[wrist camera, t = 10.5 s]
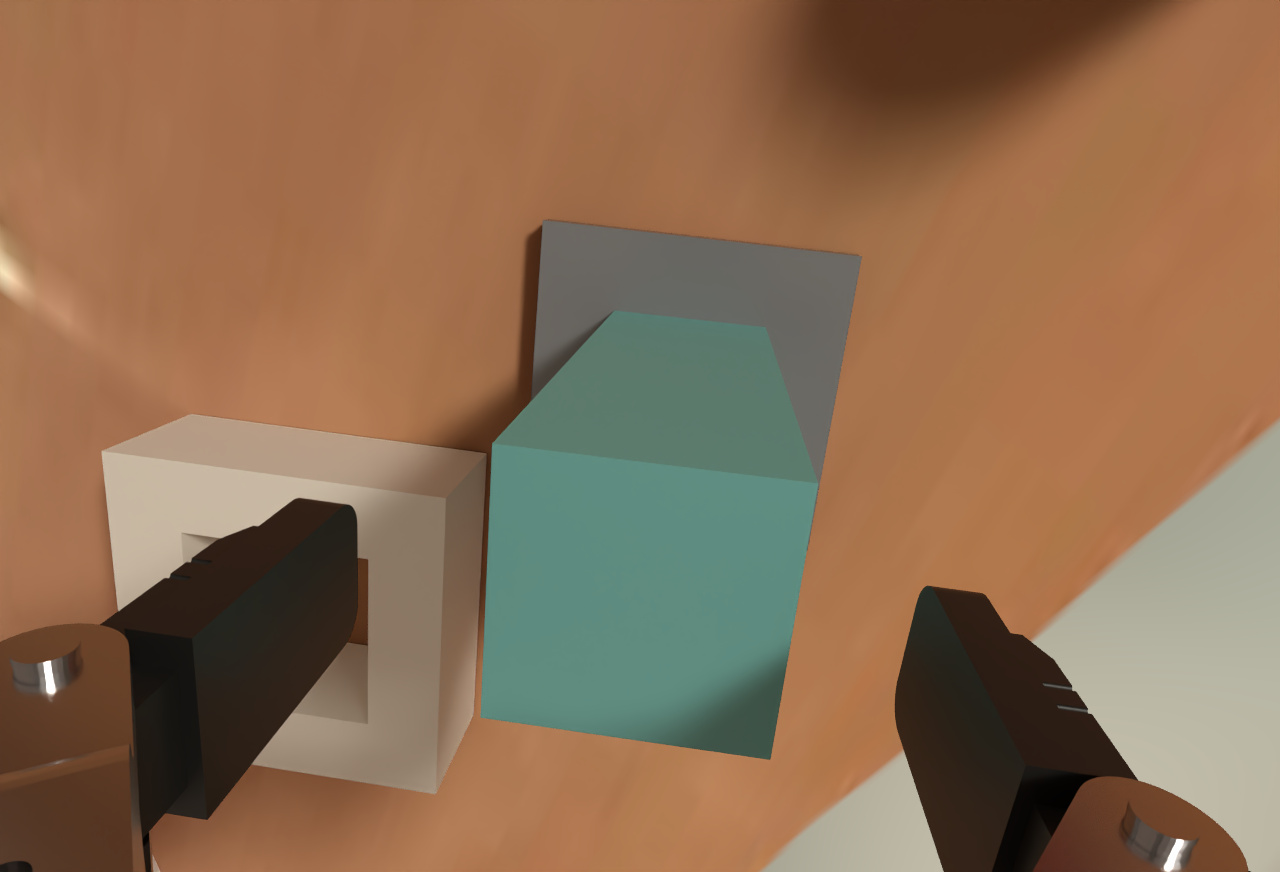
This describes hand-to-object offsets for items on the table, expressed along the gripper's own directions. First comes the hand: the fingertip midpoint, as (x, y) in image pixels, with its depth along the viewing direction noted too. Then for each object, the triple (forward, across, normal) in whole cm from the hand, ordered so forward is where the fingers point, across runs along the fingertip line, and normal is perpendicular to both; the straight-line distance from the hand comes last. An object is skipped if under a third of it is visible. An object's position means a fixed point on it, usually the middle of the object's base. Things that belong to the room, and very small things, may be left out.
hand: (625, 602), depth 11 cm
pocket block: (+14, +11, +8) cm, 19 cm away
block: (+13, 0, 0) cm, 13 cm away
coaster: (+14, 0, 0) cm, 14 cm away
